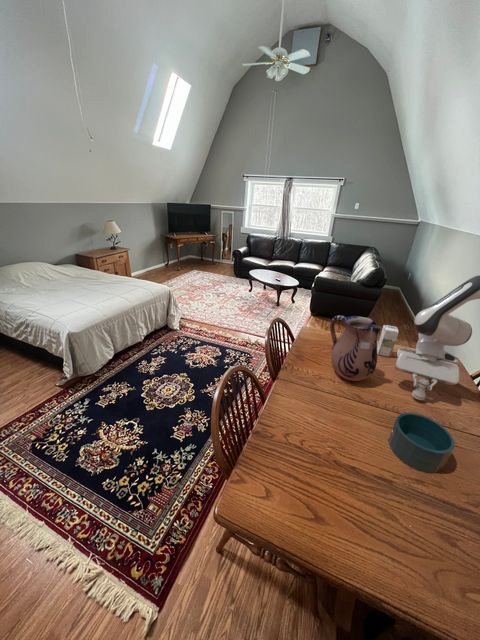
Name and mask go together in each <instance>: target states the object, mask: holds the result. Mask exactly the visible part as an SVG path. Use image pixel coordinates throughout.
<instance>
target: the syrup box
mask: <svg viewBox="0 0 480 640" xmlns="http://www.w3.org/2000/svg"><path fill="white" fill-rule="evenodd" d="M380 332H381V333H380V335H379V339H378V341H377V356H380V355H381V357H385V356H387V357H386V358H391V357H392V353H393V350H394V347H395V344H396V342H397V339H398V335H399V333H400V332H399V329H398V327H397V326H393V325H387V324H383V326H382V328H381V331H380Z"/></svg>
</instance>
